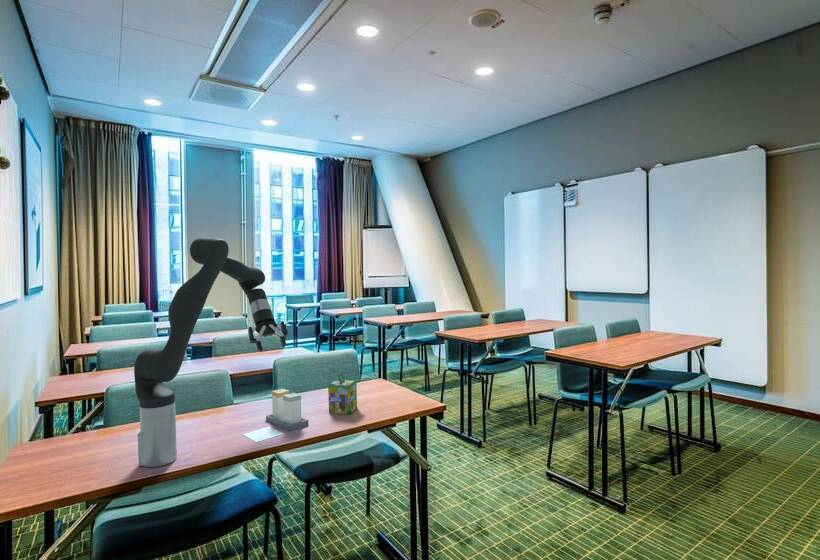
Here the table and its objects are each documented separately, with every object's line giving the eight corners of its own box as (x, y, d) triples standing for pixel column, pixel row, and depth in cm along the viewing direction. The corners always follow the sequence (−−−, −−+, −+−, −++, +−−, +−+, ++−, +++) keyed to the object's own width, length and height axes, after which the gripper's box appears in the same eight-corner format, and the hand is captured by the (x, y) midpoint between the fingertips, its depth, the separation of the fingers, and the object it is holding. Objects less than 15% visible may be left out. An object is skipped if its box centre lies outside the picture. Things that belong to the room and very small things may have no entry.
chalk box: (350, 415, 171) (349, 377, 170) (328, 414, 173) (327, 376, 172) (358, 407, 180) (357, 371, 179) (336, 406, 182) (336, 371, 181)
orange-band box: (272, 420, 165) (271, 391, 165) (283, 417, 168) (282, 388, 168) (278, 423, 162) (278, 393, 162) (289, 419, 165) (289, 390, 165)
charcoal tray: (266, 421, 165) (265, 415, 165) (285, 416, 171) (285, 410, 171) (288, 432, 154) (288, 425, 154) (308, 426, 160) (308, 420, 160)
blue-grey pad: (242, 435, 151) (242, 434, 151) (269, 427, 158) (269, 426, 158) (256, 443, 144) (256, 442, 144) (284, 435, 151) (284, 433, 151)
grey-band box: (283, 425, 160) (283, 395, 159) (294, 422, 163) (294, 392, 163) (290, 428, 156) (289, 397, 156) (301, 425, 160) (301, 394, 159)
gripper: (244, 311, 169) (255, 348, 162) (281, 305, 177) (292, 340, 170) (242, 320, 175) (252, 357, 168) (278, 315, 183) (289, 349, 176)
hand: (272, 348), depth 169 cm, fingers open, 8 cm apart
